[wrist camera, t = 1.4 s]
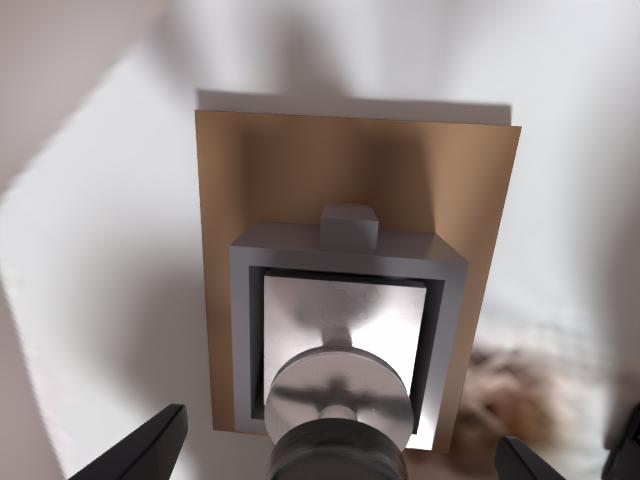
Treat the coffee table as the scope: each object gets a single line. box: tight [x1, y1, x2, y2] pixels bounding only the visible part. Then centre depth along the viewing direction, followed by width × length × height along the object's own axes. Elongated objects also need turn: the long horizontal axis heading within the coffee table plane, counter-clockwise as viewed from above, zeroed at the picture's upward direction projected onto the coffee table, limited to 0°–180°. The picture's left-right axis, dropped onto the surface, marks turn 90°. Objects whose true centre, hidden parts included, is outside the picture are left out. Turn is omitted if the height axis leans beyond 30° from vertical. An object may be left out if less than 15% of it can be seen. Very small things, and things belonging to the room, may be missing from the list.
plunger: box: [264, 270, 427, 480], centre depth 10 cm, size 6×6×7 cm
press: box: [229, 202, 469, 450], centre depth 14 cm, size 8×10×4 cm
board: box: [195, 110, 522, 454], centre depth 16 cm, size 14×18×1 cm
